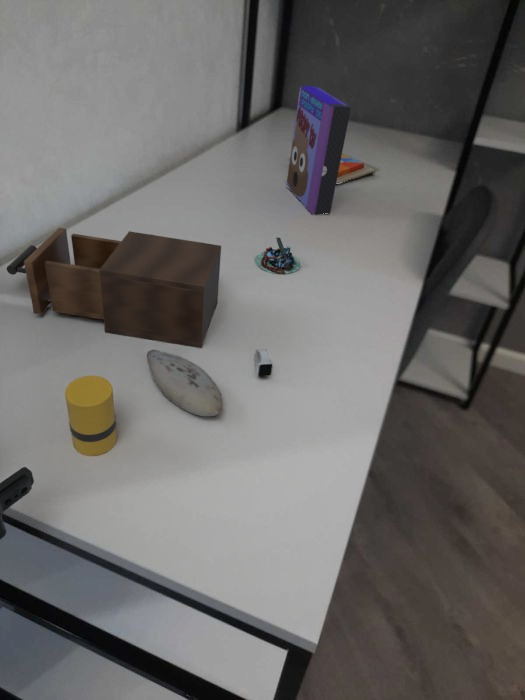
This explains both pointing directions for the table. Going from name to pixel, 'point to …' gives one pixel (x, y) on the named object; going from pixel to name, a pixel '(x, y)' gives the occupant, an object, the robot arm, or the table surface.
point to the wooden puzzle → (351, 169)
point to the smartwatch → (263, 362)
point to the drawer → (66, 273)
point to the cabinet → (160, 288)
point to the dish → (278, 260)
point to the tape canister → (91, 415)
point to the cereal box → (317, 148)
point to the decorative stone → (185, 383)
